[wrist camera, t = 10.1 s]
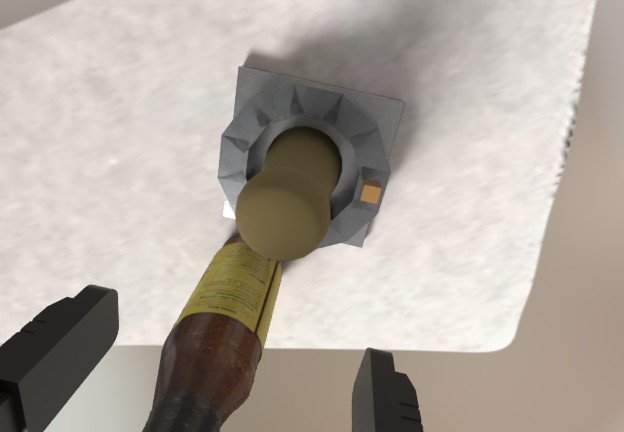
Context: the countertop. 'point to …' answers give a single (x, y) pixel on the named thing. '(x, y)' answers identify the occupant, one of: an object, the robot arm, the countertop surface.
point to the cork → (290, 195)
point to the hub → (323, 116)
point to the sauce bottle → (216, 342)
